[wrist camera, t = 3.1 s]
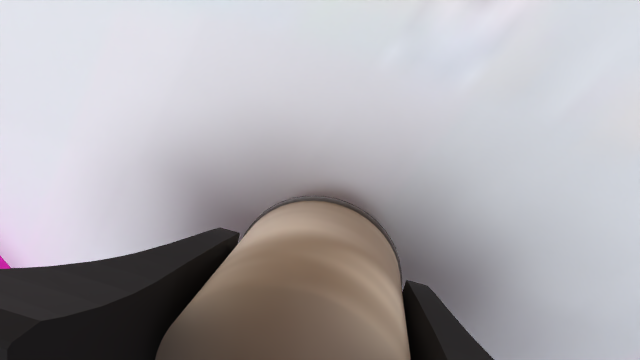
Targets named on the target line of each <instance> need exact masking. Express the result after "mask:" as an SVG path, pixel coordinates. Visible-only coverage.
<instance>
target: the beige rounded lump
mask: <svg viewBox="0 0 640 360" xmlns="http://www.w3.org/2000/svg"><path fill="white" fill-rule="evenodd" d="M155 360H411V357H410V349H409V342H408V334H407V326H406V318H405V310H404V303H403V295H402V275H401V267H400V261H399V257H398V254H397V251H396V248H395V246H394V244H393V242H392V240H391V238H390V237H389V235H388V234H387V233H386V231H385V230H384V229H383V227H382V226H381V225H380V224H379V223H378V222H377V221H376V220H375V219H374V218H372V217H371V216H370V215H369V214H368V213H366V212H365V211H363V210H361V209H360V208H358V207H356V206H354V205H352V204H350V203H348V202H345V201H342V200H339V199H335V198H330V197H325V196H302V197H297V198H292V199H289V200H286V201H283V202H281V203H278V204H276V205H274V206H272V207H271V208H269V209H268V210H266V211H265V212H264V213H263V214H261V215H260V216H259V217H258V218H257V219H256V220H255V221H254V223H253V224H252V225H251V226H250V227H249V229H248V230H247V231H246V233H245V235H244V236H243V238H242V240H241V241H240V242H239V243H238V245H237V246H236V247H235V248H234V249H233V251H232V252H231V253H230V254H229V255H228V257H227V258H226V259H225V260H224V262H223V263H222V264H221V265H220V266H219V268H218V269H217V270H216V271H215V273H214V274H213V275H212V276H211V277H210V279H209V280H208V281H207V282H206V283H205V285H204V286H203V287H202V288H201V290H200V291H199V292H198V293H197V294H196V296H195V297H194V298H193V299H192V301H191V302H190V303H189V304H188V305H187V307H186V308H185V309H184V310H183V311H182V313H181V314H180V315H179V316H178V318H177V319H176V320H175V321H174V322H173V324H172V325H171V326H170V327H169V329H168V330H167V332H166V334H165V335H164V337H163V339H162V340H161V343H160V346H159V348H158V351H157V353H156V358H155Z"/></svg>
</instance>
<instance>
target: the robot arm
mask: <svg viewBox="0 0 640 360" xmlns="http://www.w3.org/2000/svg"><path fill="white" fill-rule="evenodd" d="M239 234H240V233H237V232H234V231H230V230H227V229H223V228H217V229H213V230H210V231H206V232H203V233H200V234H197V235H194V236H191V237H188V238H185V239H182V240H179V241H176V242H173V243H170V244H167V245H163V246H159V247H156V248H152V249H149V250H145V251H142V252H138V253H134V254H129V255H125V256H120V257H115V258H109V259H104V260H98V261H92V262H83V263H75V264H66V265H58V266H48V267H32V268H9V269H0V360H155V358H156V353H157V351H158V348H159V346H160V343H161V340H162V339H163V337H164V335H165V334H166V332H167V330H168V329H169V327H170V326H171V325H172V324H173V322H174V321H175V320H176V319H177V318H178V316H179V315H180V314H181V313H182V311H183V310H184V309H185V308H186V307H187V305H188V304H189V303H190V302H191V301H192V299H193V298H194V297H195V296H196V294H197V293H198V292H199V291H200V290H201V288H202V287H203V286H204V285H205V283H206V282H207V281H208V280H209V279H210V277H211V276H212V275H213V274H214V273H215V271H216V270H217V269H218V268H219V266H220V265H221V264H222V263H223V262H224V260H225V259H226V258H227V257H228V255H229V254H230V253H231V252H232V251H233V249H234V248H235V247H236V246H237V244H238V239H239ZM402 295H403V303H404V310H405V318H406V326H407V334H408V342H409V349H410V357H411V360H494V359H493V358H492V357H491V356H490V355H489V354H488V353H487V352H486V351H485V350H484V349H483V348H482V347H481V346H480V345H479V344H478V343H477V342H476V341H475V340H474V338H473V337H472V336H471V335H470V334H469V333H468V332H467V331H466V330H465V328H464V327H463V326H462V325H461V324H460V323H459V322H458V320H457V319H456V318H455V317H454V316H453V315H452V313H451V312H450V311H449V310H448V309H447V307H446V306H445V305H444V304H443V303H442V301H441V300H440V299H439V298H438V297H437V296H436V294H435V293H434V292H433V291H432V290H431V289H430V288H429V287H428V286H426V285H422V284H419V283H415V282H412V281H408V280H406V283H405V286H404V289H403V292H402Z"/></svg>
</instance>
